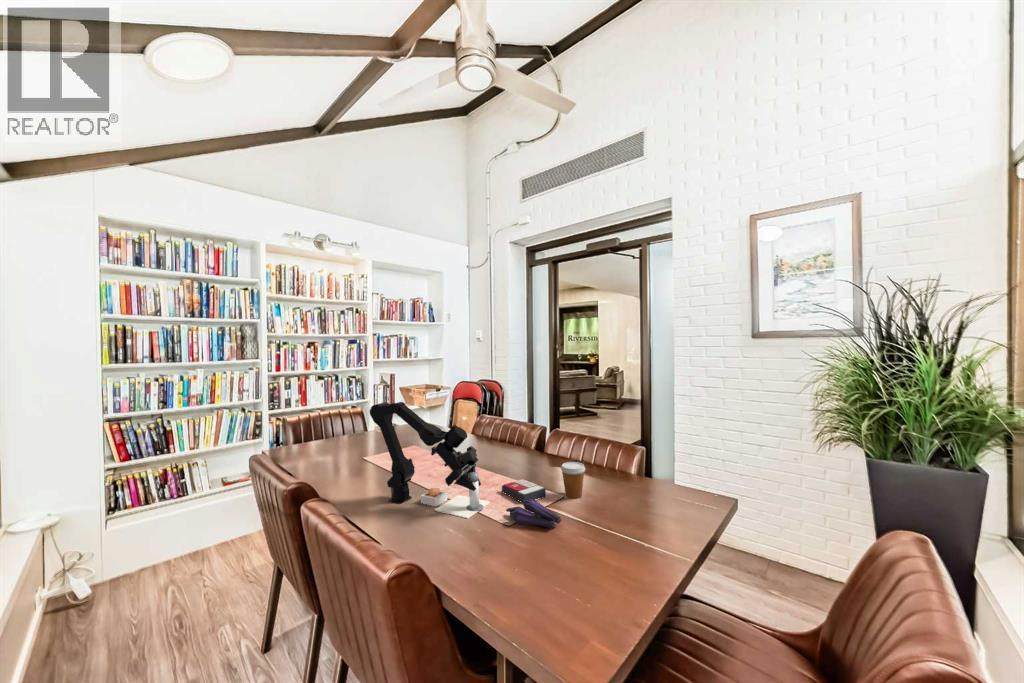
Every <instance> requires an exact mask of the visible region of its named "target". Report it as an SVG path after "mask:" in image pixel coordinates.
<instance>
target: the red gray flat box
mask: <svg viewBox="0 0 1024 683" xmlns="http://www.w3.org/2000/svg"><path fill="white" fill-rule="evenodd" d="M501 491H502V492H504V493H506V494H508V495H510V496H511V497H510V496H509V497H510V498H512V497H513V498H512V499H514V498H515V499H514V500H516V499H517V500H519V501H521V502H522V501H526V500H531V499H534V500H535V499H538V498H541V499H543V498H542V497H544V498H546V497H547V495H546V491H547V490H546V487H543V486H541V485H538V484H536V483H534V482H531V481H528V480H526V479H523V478H521V479H519V480H515V481H513V482H512V481H511V482H507V483H504V484H502V486H501ZM502 492H501V493H502ZM504 493H503V494H504ZM506 494H505V495H506ZM508 495H507V496H508ZM545 496H546V497H545ZM517 500H516V501H517ZM538 500H539V499H538ZM519 501H518V502H519ZM535 501H536V500H535ZM521 502H520V503H521Z"/></svg>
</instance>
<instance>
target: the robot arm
mask: <svg viewBox="0 0 1024 683" xmlns="http://www.w3.org/2000/svg"><path fill="white" fill-rule="evenodd" d="M394 414H396V415H397V416H398V417H399V418H400V419H401V420H403V422H405V423H406V424H408V426H409V427H411V428H412V429H413V430H414V431H415V432H416V433H417V434H418V437H419V439H420V440H421V441H422V442H423V444H425V446H428V447H431V446H433V447H431V453H430V455H431V456H434V455H436V454H437V455H438V456H439V457H440V459H441V460H442V461H443V462H444V464H443V465H444V467H449V469H450V470H451V472H450V473H449V474H448V475H447V476H446V478H445V479H444V481H445V482H444V483H446V486H448V487H449V486H452V484H454V485H458V486H461V487H464V488H466V489H468V490H469V489H470V490H473V491H475V490H476V488H475V486H474V485H473V483H472V482H471V481H470V479H469V478H468V473H470V472H477V471H476V466H477V463H478V461H479V459H478V458H477V457H478V454H477V452H478V451H477V449H476V448H475V447H473V445H471V446H468V447H467V448H466V451H464V452H463V453H462V451H457V450H456V449H457V448H459V447H460V446H461V444H462V443H464V441H465V440H466V439H467V438H468V434H467V431H466V430H465V429H463V428H461V427H460V426H457V425H456V424H454V425H452V426H451V427H450V429H449V430H448V431H445V430H442V429H441V428H440V427H438V426H436V425H435V424H431V423H428V422H426V421H425V420H424V419H423V418H422V417H421V416H419V415H418V414H416V413H415V411H413V410H412V409H411V408H409V407H408V405H406V403H405V402H403V401H399V402H393V403H389V402H385V401H384V402H381V403H377V404H374V405H371V407H370V409H369V415H370V417H371V419H372V421H373V423H374V424H376V425H377V426H378V427H379V428H380V430H381V431H380V432H381V435H382V437H383V439H384V443H385V445H386V447H387V450H388V451H387V452H388V454H389V456H390V459H391V471H390V472H391V475H392V476H391V477H390V478H389V479H388V480H387V482H386V484H387V487H388V488H390V490H391V491H390V493H391V498H389V499H388V502H391V501H392V503H396V504H399V503H400V504H403V503H405V502H406V501H408V499H409V500H410V499H412V496H410V488H409V482H411V480H412V478H413V477H414V475H415V468H416V467H415V465H414V463H413V459H412V458H409V459H408V458H407V457H406V456H405V455H404V451H403V449H402V445H401V443H400V440H399V438H398V435H397V432H396V430H395V426H394V424H393V418H394V417H393V416H394ZM436 444H437V445H436ZM434 445H436V446H434ZM479 478H480V477H478V479H479ZM478 484H479V487H480V486H481V485H482V483H481V481H480V479H479V480H478ZM404 501H405V502H404Z"/></svg>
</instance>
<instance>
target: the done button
mask: <svg viewBox="0 0 1024 683" xmlns="http://www.w3.org/2000/svg"><path fill="white" fill-rule="evenodd" d="M440 491H441V490H440V488H439V487H432V488H429V489H428V490H427V492H428V496H431V497H437V496H438V495H440Z"/></svg>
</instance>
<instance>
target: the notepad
mask: <svg viewBox="0 0 1024 683" xmlns="http://www.w3.org/2000/svg"><path fill="white" fill-rule="evenodd" d="M490 502H491V501H489V500H484V499H480V498H479V503H480V507H479V508H478V509H471V508H470V499H469V496H465V495H461V494H459V495H456V496H455V497H453V498H451V499H449V500H447V502H446V501H445V502H444V503H442V504H440V505H439V506H438V507H436V508H434V512H438V513H443V514H446V515H450V514H451V516H456V517H459V518H464V519H470V518H471V517H473V516H474V515H475V514H477V513H478V512H479V510H480V511H481V510H483V509H484V508H485V507H487V506H489V505H490V504H491V503H490ZM489 503H490V504H489ZM486 505H487V506H486ZM483 507H484V508H483Z"/></svg>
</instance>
